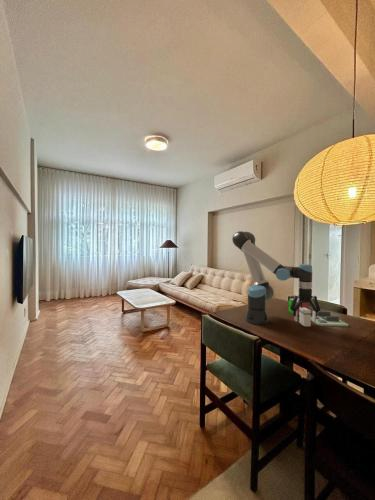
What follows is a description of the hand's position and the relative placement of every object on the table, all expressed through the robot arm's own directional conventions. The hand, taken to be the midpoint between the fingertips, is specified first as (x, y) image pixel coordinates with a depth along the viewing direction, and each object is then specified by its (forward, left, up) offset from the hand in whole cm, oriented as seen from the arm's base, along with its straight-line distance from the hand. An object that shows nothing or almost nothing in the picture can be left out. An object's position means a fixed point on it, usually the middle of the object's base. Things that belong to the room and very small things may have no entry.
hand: (304, 321), depth 141 cm
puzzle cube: (+6, +23, -2) cm, 24 cm away
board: (+17, +6, -2) cm, 18 cm away
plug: (0, 0, -2) cm, 2 cm away
